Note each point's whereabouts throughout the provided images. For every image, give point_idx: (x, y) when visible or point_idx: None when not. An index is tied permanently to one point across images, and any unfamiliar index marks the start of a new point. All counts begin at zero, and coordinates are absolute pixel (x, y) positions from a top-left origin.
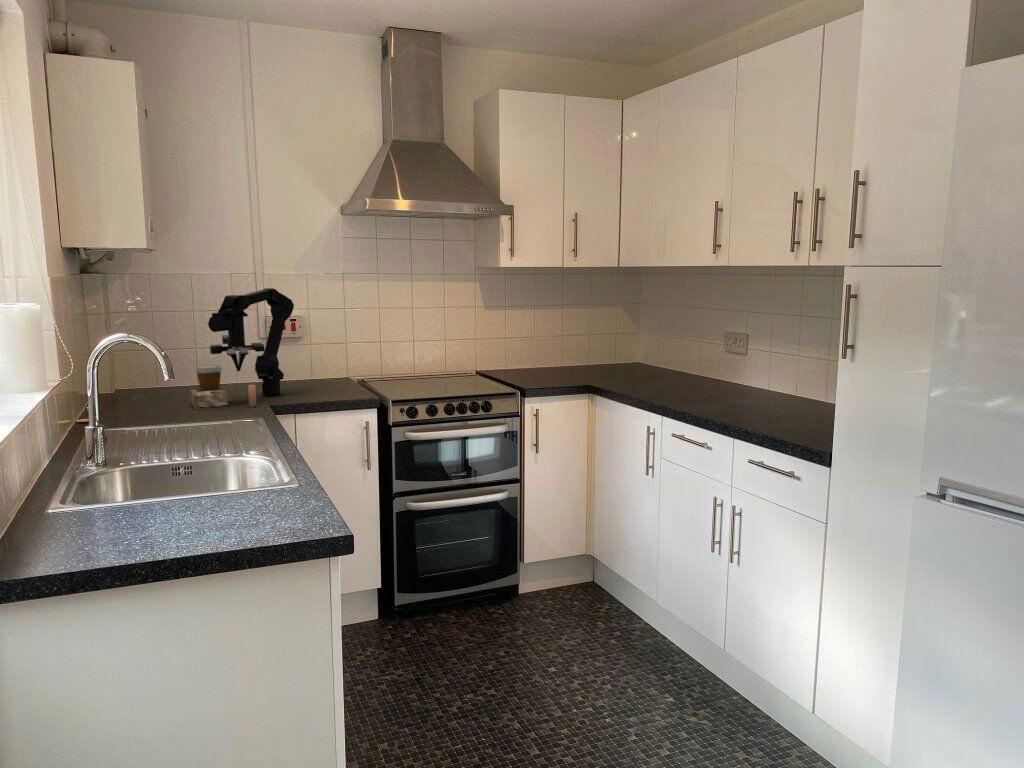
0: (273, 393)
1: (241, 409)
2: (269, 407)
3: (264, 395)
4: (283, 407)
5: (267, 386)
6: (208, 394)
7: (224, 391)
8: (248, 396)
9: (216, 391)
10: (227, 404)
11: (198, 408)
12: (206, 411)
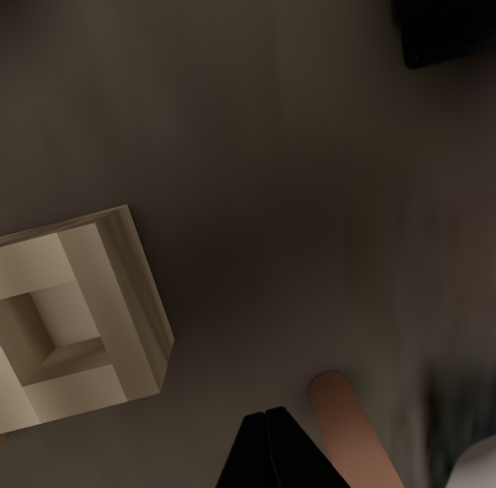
0: (488, 39)
1: None
2: (417, 422)
3: (409, 63)
4: (487, 431)
5: (491, 9)
6: (15, 411)
7: (116, 304)
8: (326, 446)
9: (39, 288)
10: (172, 343)
11: None
12: (87, 468)
